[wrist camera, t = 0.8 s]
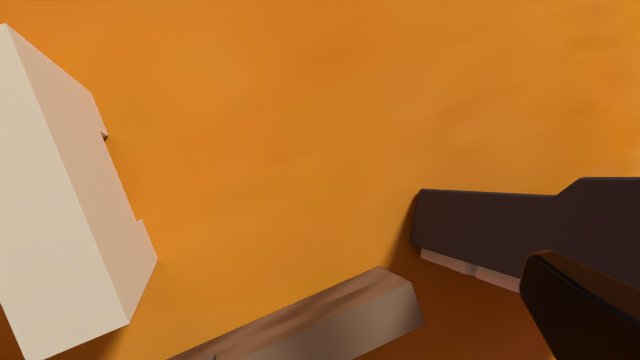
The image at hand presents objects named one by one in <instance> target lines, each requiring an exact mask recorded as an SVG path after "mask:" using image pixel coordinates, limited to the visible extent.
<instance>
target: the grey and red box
mask: <svg viewBox="0 0 640 360" xmlns="http://www.w3.org/2000/svg"><path fill="white" fill-rule="evenodd" d="M410 243H411V244H412V245H413V246H416V247H419V248H422V250H421V256H420V257H421V258H422V259H425V260H427V261H430V262H433V263H436V264H438V265H441V266H444V267H447V268H450V269H452V270H455V271H458V272H459V273H461V274H466V275H472V276H475V277H476V278H478V279H480V280H483V281H486V282H489V283H491V284H494V285H497V286H500V287H503V288H505V289H508V290H511V291H514V292H517V293H519V294H520V291H519V283H520V279H521V275H522V272H523V268H524V264H525V260H526V258H527V256H528V255H529V254H531V253H535V252H539V251H544V250H551V251H554V252H556V253H558V254H561V255H563V256H565V257H567V258H570V259H572V260H574V261H576V262H579V263H581V264H583V265H586V266H588V267H590V268H592V269H595V270H597V271H599V272H601V273H604V274H606V275H608V276H610V277H613V278H615V279H617V280H620V281H622V282H624V283H626V284H629V285H631V286H633V287H635V288H638V289H640V177H583V178H579V179H578V180H576V181H575V182H574V183H572V184H571V185H570V186H568V187H567V188H565V189H564V190H563V191H561V192H560V193H559V194H557V195H537V194H517V193H497V192H478V191H458V190H438V189H421V190H420V191H419V196H418V201H417V207H416V212H415V218H414V224H413V229H412V235H411V242H410Z"/></svg>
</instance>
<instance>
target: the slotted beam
mask: <svg viewBox="0 0 640 360" xmlns="http://www.w3.org/2000/svg"><path fill="white" fill-rule="evenodd" d="M423 325H426V322H425V320H424V317H423V314H422V311H421V308H420V305H419V303H418V300H417V297H416V294H415V291H414V288H413V286H412V283H411V282H410V281H408V280H406V279H404V278H402V277H400V276H398V275H396V274H394V273H392V272H390V271H388V270H385V269H383V268H381V267H379V266H378V267H376V268H373V269H371V270H369V271H367V272H364V273H362V274H360V275H357V276H355V277H353V278H351V279H348V280H346V281H344V282H342V283H339V284H337V285H335V286H333V287H330V288H328V289H326V290H323V291H321V292H319V293H317V294H314V295H312V296H310V297H308V298H305V299H303V300H301V301H299V302H296V303H294V304H292V305H289V306H287V307H285V308H283V309H280V310H278V311H276V312H274V313H271V314H269V315H267V316H265V317H262V318H260V319H258V320H255V321H253V322H251V323H249V324H246V325H244V326H242V327H240V328H237V329H235V330H233V331H231V332H228V333H226V334H224V335H221V336H219V337H217V338H215V339H212V340H210V341H208V342H206V343H203V344H201V345H199V346H197V347H194V348H192V349H190V350H187V351H185V352H183V353H181V354H178V355H176V356H174V357H172V358H169V359H167V360H353V359H355V358H357V357H359V356H361V355H363V354H365V353H367V352H369V351H372V350H374V349H376V348H378V347H380V346H382V345H384V344H386V343H388V342H390V341H392V340H394V339H396V338H399V337H401V336H403V335H405V334H407V333H409V332H411V331H413V330H415V329H417V328H419V327H421V326H423Z"/></svg>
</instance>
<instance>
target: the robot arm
mask: <svg viewBox="0 0 640 360" xmlns="http://www.w3.org/2000/svg"><path fill="white" fill-rule="evenodd" d="M519 291H520V295H521V298H522V300H523V301H524V303H525V305H526V307H527V309H528V310H529V312H530V314H531V316H532V318H533V319H534V321H535V323H536V325H537V327H538V328H539V330H540V332H541V334H542V335H543V337H544V339H545V341H546V343H547V344H548V346H549V348H550V350H551V352H552V353H553V355H554V357H555V359H556V360H640V289H638V288H635V287H633V286H631V285H629V284H626V283H624V282H622V281H620V280H617V279H615V278H613V277H610V276H608V275H606V274H604V273H601V272H599V271H597V270H595V269H592V268H590V267H588V266H586V265H583V264H581V263H579V262H576V261H574V260H572V259H570V258H567V257H565V256H563V255H561V254H558V253H556V252H554V251H551V250H544V251H539V252H535V253H531V254H529V255H528V256H527V258H526V260H525V264H524V268H523V272H522V275H521V279H520V283H519Z"/></svg>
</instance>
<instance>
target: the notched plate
mask: <svg viewBox="0 0 640 360" xmlns="http://www.w3.org/2000/svg"><path fill="white" fill-rule="evenodd" d="M106 136H108V133H107V131H106V128H105V126H104V123H103V121H102V118H101V116H100V113H99V111H98V108H97V106H96V103H95V101H94V98H93V96H92V93H91V92H89V91H88V90H87V89H86V88H85V87H83V86H82V85H81V84H80V83H78V82H77V81H76V80H75V79H73V78H72V77H71V76H70V75H69V74H67V73H66V72H65V71H64V70H62V69H61V68H60V67H59V66H57V65H56V64H55V63H54V62H53V61H51V60H50V59H49V58H48V57H46V56H45V55H44V54H43V53H42V52H40V51H39V50H38V49H37V48H35V47H34V46H33V45H32V44H30V43H29V42H28V41H27V40H26V39H24V38H23V37H22V36H21V35H19V34H18V33H17V32H16V31H14V30H13V29H12V28H11V27H10V26H8V25H7V24H6V23H4V24H1V25H0V303H1V305H2V308H3V310H4V312H5V314H6V317H7V319H8V321H9V324H10V326H11V328H12V331H13V333H14V335H15V337H16V340H17V342H18V344H19V347H20V349H21V351H22V354H23V356H24V358H25V360H44V359H46V358H49V357H51V356H53V355H56V354H58V353H60V352H63V351H65V350H68V349H70V348H72V347H75V346H77V345H80V344H82V343H84V342H87V341H89V340H92V339H94V338H96V337H99V336H101V335H104V334H106V333H108V332H111V331H113V330H116V329H118V328H120V327H123V326H125V325H127V324H129V323H130V321H131V318H132V316H133V314H134V312H135V310H136V307H137V305H138V303H139V301H140V298H141V296H142V294H143V292H144V290H145V287H146V285H147V283H148V281H149V278H150V276H151V274H152V272H153V270H154V267H155V265H156V263H157V261H158V258H157V256H156V253H155V251H154V248H153V246H152V243H151V241H150V238H149V236H148V233H147V231H146V228H145V226H144V223H143V221H142V219H140V220H137V221H136V219H135V217H134V214H133V212H132V209H131V207H130V204H129V202H128V199H127V197H126V194H125V192H124V189H123V187H122V184H121V182H120V180H119V177H118V175H117V172H116V170H115V167H114V165H113V162H112V160H111V157H110V155H109V152H108V150H107V147H106V145H105V142H104V140H103V137H106Z"/></svg>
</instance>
